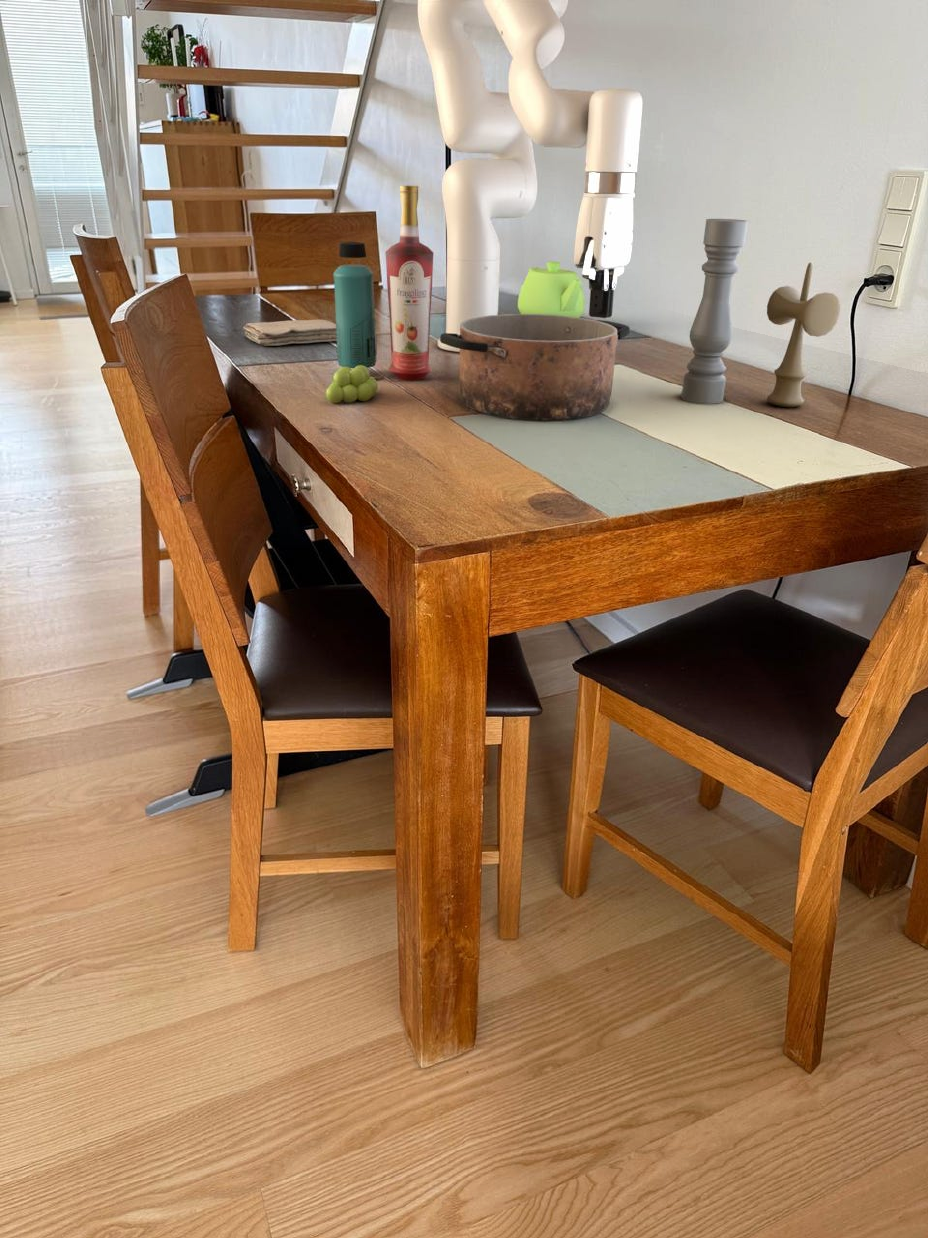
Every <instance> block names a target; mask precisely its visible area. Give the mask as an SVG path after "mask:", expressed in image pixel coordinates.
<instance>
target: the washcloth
mask: <svg viewBox="0 0 928 1238" xmlns="http://www.w3.org/2000/svg"><path fill="white" fill-rule="evenodd" d="M243 329H244V331H245V332H244V333H245V334H244V335H245V337H246V338H248V339H249V340H251V341H253V342H255V343H257V344H258V345H262V346H263V347H264V346H265V347H269V346H273V347H276V346H283V345H284V346H286V345H291V344H293V345H295V344H313V343H314V344H315V343H325V342H337V336H336V330H335V329H336V323H335V322H332V321H330V320H327V319H294V320H290V319H289V320H281V321H269V322H268V321H262V322H249V323H246V324H245V325H244V326H243Z"/></svg>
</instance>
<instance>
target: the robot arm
mask: <svg viewBox="0 0 928 1238" xmlns="http://www.w3.org/2000/svg"><path fill="white" fill-rule="evenodd" d="M568 4H569V0H417V21H418V26H419V31H420V35H421V39H422V43H423V45H424V48H425V52H426V54H427V56H428V60H429V64H430V67H431V73H432V79H433V86H434V93H435V94H434V95H435V98H436V106H437V112H438V119H439V125H440V130H441V135H442V138H443V141H444V143H445V145H446V147H448V149H450V150H451V151H454V152H456V153H466V154H492V157H493V158H488V157H487V158H483V157H481V158H480V157H472V158H463V159H460V160H457V161H454V162H453V163H452V164H450V165H449V166H448V168H447V169H446V170H445V172H444V174H443V176H442V180H441V181H442V182H441V195H442V203H443V209H444V215H445V223H446V300H445V301H446V307H445V308H446V310H445V315H446V316H445V318H446V319H445V333H454V334H458V335H460V324H461V323H462V322H464V321H465V320H468V319H472V318H476V317H482V316H490V315H499V294H500V293H499V291H500V265H501V263H500V262H501V243H500V240H499V237H498V234H497V232H496V229H495V228H494V225H493V223H492V220H493V219H517V218H522V217H524V216H526V215H527V214H529V213H530V212H531V211H532V210H533V208H534V206H535V204H536V200H537V196H538V175H537V167H536V161H535V152H534V146H533V142H534V143H535V144H537V145H538V146H540V147H543V148H564V149H565V148H568V149H585V166H584V182H583V183H584V184H583V196H582V198H581V202H580V207H579V211H578V217H577V223H576V231H575V240H574V250H573V265H574V267H575V268H576V269H582V273H581V277H582V278H583V279H585V280H587V281H588V288H589V290H590V291H589V292H590V293H589V307H588V308H589V309H588V316H589V317H590V318H591V317H592V318H600V319H607V318H611V317H613V307H614V294H615V290H616V287H617V281H618V277H620V276H621V275H622V274H624V271H625V267H626V266H627V265H628V264H629V263H630V262H631V257H632V250H633V236H634V198H636V187H637V186H636V185H637V177H638V176H637V175H638V174H637V172H638V165H639V164H638V162H639V154H640V153H639V152H640V138H641V127H642V115H643V98H642V95H641V93H640V92H639V91H638V90H635V89H629V88H628V89H627V88H605V89H599V90H597V91H588V90H579V89H568V88H567V89H566V88H553V87H552V85H550V83H549V82H548V80H547V78H546V76H545V74H544V73H543V71H542V70H544V69H545V68H546V67H547V66H549V65H550V64H551V63H552V62H553V61H554V60H555V59H556V58H557V57H558V55H559V54H560V52H561V50H562V48H563V47H564V43H565V38H566V37H565V28H564V26H563V23H562V21H561V20H560V19H561V18H562V17H563V15H564V14H565V12H566V10H567V8H568ZM464 26H471V27H479V28H488V29H495V30H497V31H498V33H499V35H500V37H501V39H502V40H503V42H504V44H505V47H506V49H507V50H508V52H509V54H510V56H511V58H512V60H511V62H510V65H509V70H508V81H507V82H508V84H507V85H508V93H507V92H502V91H501V92H499V91H490V90H488V88H487V86H486V83H485V78H484V73H483V72H484V71H483V64H482V61H481V57H480V54H479V52H478V50H477V48H476V46H475V45H474V43H473V41H472V40H471V38H470V37H469V36H468V34H467V33H466V31H465V30H464ZM437 347H438V348H439V349H441V350H445V351H449V352H453V353H460V349H459V348H455V347H452V346H449V345H446V344H443V343H441V341H440V338H438V339H437Z"/></svg>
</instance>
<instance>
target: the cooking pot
mask: <svg viewBox="0 0 928 1238" xmlns="http://www.w3.org/2000/svg"><path fill="white" fill-rule="evenodd" d="M630 330H631V329H630V326H629V325H626V324H623V323H619V322H614V321H610V320H602V319H599V320H598V319H597V320H595V319H590V318H584V317H580V318H578V317H569V316H559V315H543V314H521V313H510V314H509V313H507V314H505V313H503V314H498V315H490V316H482V317H476V318H472V319H468V320H465V321H464V322H462V323H461V324H460V335H458V334H454V333H446V332H444V333H443V332H442V333H440V337H439V339H440V341H441V343H443V344H446V345H449V346H452V347H455V348H459V349H460V352H459V359H458V360H459V363H458V365H459V367H458V397H459V400H460V401H461V403H462V404H463V405H464V406H465V407H466V408H468V409H471V410H472V411H475V412H478V413H480V414H483V415H489V416H492V417H498V418H502V419H510V420H519V421H533V422H534V421H536V422H557V421H558V422H559V421H570V420H571V421H572V420H578V419H585V418H589V417H594V416H596V415H599V414H601V413H603V412H604V411H605V410H607V408H609V406H610V404H611V401H612V392H613V382H614V372H615V362H616V351H617V345H618V343H619V340H621V339H623V338H625V337H627V336H628V335H630V333H631V331H630Z"/></svg>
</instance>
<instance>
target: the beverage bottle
mask: <svg viewBox="0 0 928 1238" xmlns="http://www.w3.org/2000/svg"><path fill="white" fill-rule="evenodd" d="M338 257H339V258H346V259H360V258H361V259H363V258H367V252H366V244H365V243H364V242H359V241H345V242H344V241H343V242H340V243H339V251H338ZM332 275H333V282H334V283H333V287H334V307H335V309H334V310H335V321H334V324H336V329H335V330H336V336H337V341H335V343H336V344H335V346H336V347H335V349H336V353H335V354H336V361H337V363H338V366H339V367H340V368H341V367H344V366H346V367H349V368H351V369H354V368H355V367H356V366H359V365H362V366H365V367H366V368H367V369H369V368H373V367H375V366H376V364H377V361H378V357H377V356H378V355H377V354H378V353H377V352H378V351H377V347H378V346H377V342H378V341H376V328H377V326H376V324H377V321H376V312H375V311H376V307H375V299H376V297H375V290H374V272H373V271H372V270H371V268H369V266H367V265H365V264H341V265H339V266H338V267H337V268H336V269H335V270H334V272H333V274H332Z"/></svg>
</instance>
